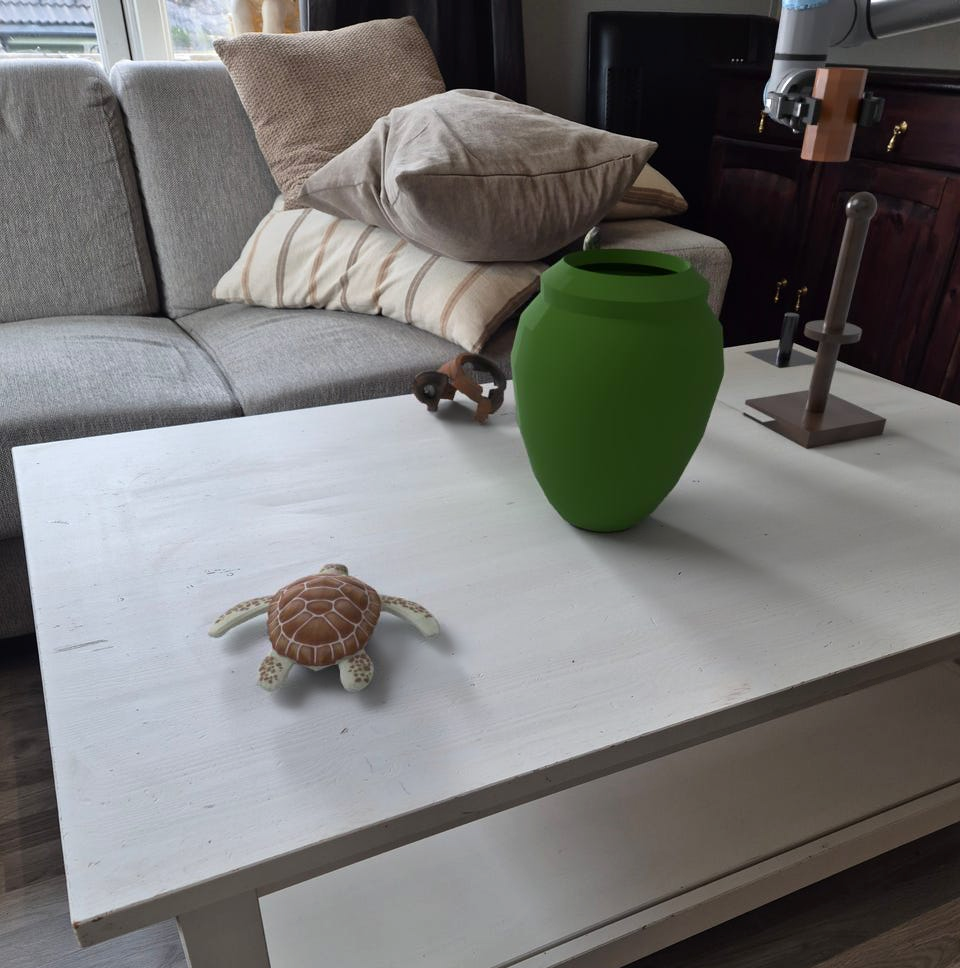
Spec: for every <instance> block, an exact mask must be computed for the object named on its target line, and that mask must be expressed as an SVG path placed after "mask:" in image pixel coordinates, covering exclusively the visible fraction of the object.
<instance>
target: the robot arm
mask: <svg viewBox="0 0 960 968" xmlns="http://www.w3.org/2000/svg"><path fill="white" fill-rule="evenodd" d="M959 22H960V0H782V1H781V13H780V19H779V25H778V26H779V27H778V31H777V39H776V45H775V51H774V59H773V62H772V67H771V74H770V78H769V79H768V81H767V83H766V85H765V88H764V91H763V104H764V113H765V114H767V115H768V116H770V118H771V119H772V120H773V121H775V122H777V123H778V124H780V125H784V126H787V127H789V128H790V129H792V132H793V134H799V133H803V134H805V132H806V127H807V124H809V125H815V126H817V124H818V118H819V113H820V108H821V103H822V100H820V99H817V98H814V97H812V94H813V89H814V84H815V78H816V73H817V68H822V67H826V63H827V58H828V54H829V49H830V48H842V49H850V48H856V47H859V46H862V45H865V44H866V43H869V42H872V41H876V40H880V39H884V38H885V39H886V38H889V37H895V36H898V35H903V34H907V33H912V32H917V31H922V30H925V29H931V28H936V27H940V26H944V25H950V24H953V23H959ZM873 95H874V92H873V91H863V96H862V100H861V105H860V110H859V114H858V119H857V124H856V125H858V126H859V125H860V126H862V127H866V128H873V123H878V122H880V121H881V117H882V113H883V109H884V104H885V98H883V97H876V96H873Z"/></svg>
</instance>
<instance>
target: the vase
mask: <svg viewBox="0 0 960 968" xmlns="http://www.w3.org/2000/svg"><path fill="white" fill-rule="evenodd" d="M539 277H540V292H539V293H538V295H536V297H535V298H534V299H533V300H532V301H531V302H530V303H529V305H528V306H527V307H526V308H525V309H524V310H523V311H522V313H521V314H520V317H519V320H518V325H517V329H516V332H515V337H514V341H513V345H512V349H511V353H510V368H511V376H512V386H513V387H512V388H513V396H514V404H515V412H516V413H515V414H516V421H517V426H518V429H519V432H520V437H521V439H522V442H523V445H524V449H525V452H526V455H527V459H528V462H529V464H530V468H531V470H532V473H533V475H534V478H535V479H536V481H537V483H538V484H539V487H540V488H541V490H542V492H543V494H544V496H545V497H546V499H547V501H548V503H549V504H550V505H551V507H553V509H554V510H555V511H556V512H557V514H558V515H559V516H560V517H561V518H562V519H563V520H564V521H566V522H568V524H570V525H572V526H575V527H578V528H579V529H583V530H586V531H591V532H598V533H612V532H613V533H614V532H620V531H624V530H628V529H631V528H634V527H635V526H637V525H639V524H640V523H641V522H643V521H644V520H645V519H647V518H648V517H649V516H650V515H652V514H653V513H654V512H655V511H656V510H657V509H658V507H659V506H660V505H661V504H662V503H663V502H664V501H665V499H666V498H667V497H668V496H669V494H670V493H671V492H672V491H673V489H674V488H675V487H676V486H677V484H678V483H679V481H680V479H681V478H682V475H683V474H684V472H685V470H686V468H687V466H688V465H689V463H690V461H691V460H692V457H693V456H694V454H695V453H696V451H697V449H698V447H699V445H700V443H701V442H702V440H703V439H704V435H705V433H706V429H707V426H708V424H709V420H710V417H711V414H712V411H713V408H714V405H715V403H716V399H717V397H718V394H719V391H720V387H721V385H722V382H723V378H724V376H725V354H724V352H725V351H724V330H723V329H724V328H723V325H722V324H721V322H720V320H719V319H718V317H717V315H716V314H715V313H714V311H713V309H712V308H711V306H710V304H709V303H708V300H709V297H710V296H709V294H710V291H711V284H710V282H709V281H708V280H707V279H706V278H705V277H704V276H703V275H702V274H701V273H700V271H698V270H697V269H696V268H695V267H694V266H693V265H692V264H691V263H690V261H688V260H686V259H685V258H682V257H679V256H678V255H673V254H669V253H664V252H659V251H653V250H646V249H645V250H644V249H637V248H636V249H635V248H633V249H632V248H601V249H591V250H584V249H583V250H577V251H574V252H571V253H569V254H566V255H565V256H563V257H562V258H561V259H560V260H558V261H557V262H556V263H554V264H553V265H552V266H550V267H549V268H548V269H546V270H544V271H543V272H542V273H541V274H540V276H539Z"/></svg>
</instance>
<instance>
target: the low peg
mask: <svg viewBox="0 0 960 968" xmlns="http://www.w3.org/2000/svg"><path fill="white" fill-rule="evenodd" d="M799 319H800V315H799V314H798V313H797V312H796V313H795V312H786V313H784V316H783V322H782V327H781V331H780V337H779V342H778V345H777V346H778V347H772V348H765V349H757V350H749V351H744V353H745V354H747V355H749V356H751V357H754V358H755V359H758V360H760V361H762V362H765V363H767V364H769V365H772V366H774V367H776V368H778V369H784V368H791V367H799V366H806V365H813V364H815V360H816V357H814V356H811V355H808V354H806V353H804V352H802V351H799V350H796V349H794V343H795V338H796V334H797V329H798V323H799Z"/></svg>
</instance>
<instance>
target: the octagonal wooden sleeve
mask: <svg viewBox="0 0 960 968" xmlns="http://www.w3.org/2000/svg"><path fill="white" fill-rule="evenodd" d="M868 71H869V69H868V68H859V67H858V68H857V67H831V66H829V67H826V66H825V67H822V68H817V73H816V78H815V84H814V89H813V94H812V97H814V98H817V99H820V100H822V103H821V108H820V113H819V118H818V124H817V126H815V125H809V124H807V127H806V132H805V133H804V137H803V143H802V149H801V153H800V158H801V159H802V160H806V161H812V162H823V163H840V162H841V163H843V162H848V161H849V160H850V157H851V152H852V148H853V147H852V146H853V142H854V137H855V134H856V128H857V125H858V124H857V119H858V114H859V110H860V105H861V100H862V96H863V94H864V92H865V91H864V90H865V86H866V82H867V81H866V80H867V77H868Z"/></svg>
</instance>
